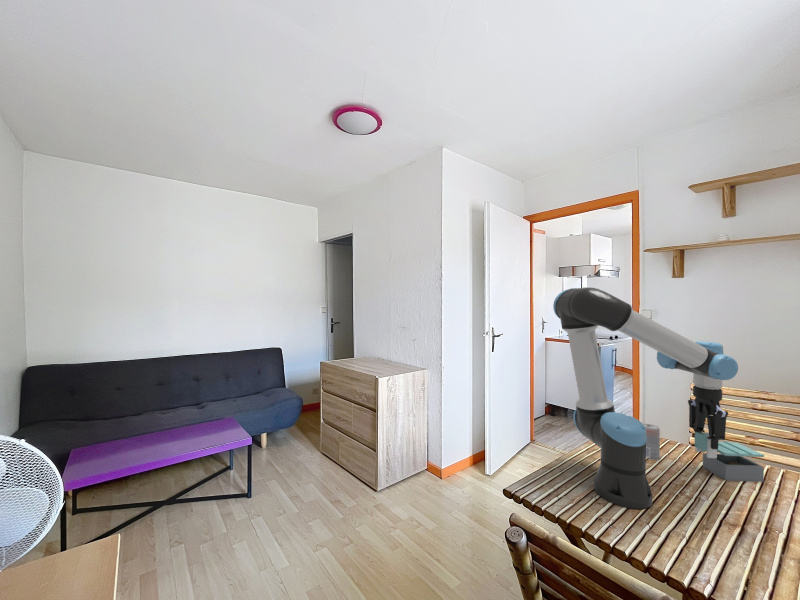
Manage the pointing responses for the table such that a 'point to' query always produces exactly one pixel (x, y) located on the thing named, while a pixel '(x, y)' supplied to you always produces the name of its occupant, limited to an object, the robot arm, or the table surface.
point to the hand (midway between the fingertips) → (705, 454)
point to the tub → (734, 468)
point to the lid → (725, 447)
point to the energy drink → (652, 441)
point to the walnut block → (734, 463)
